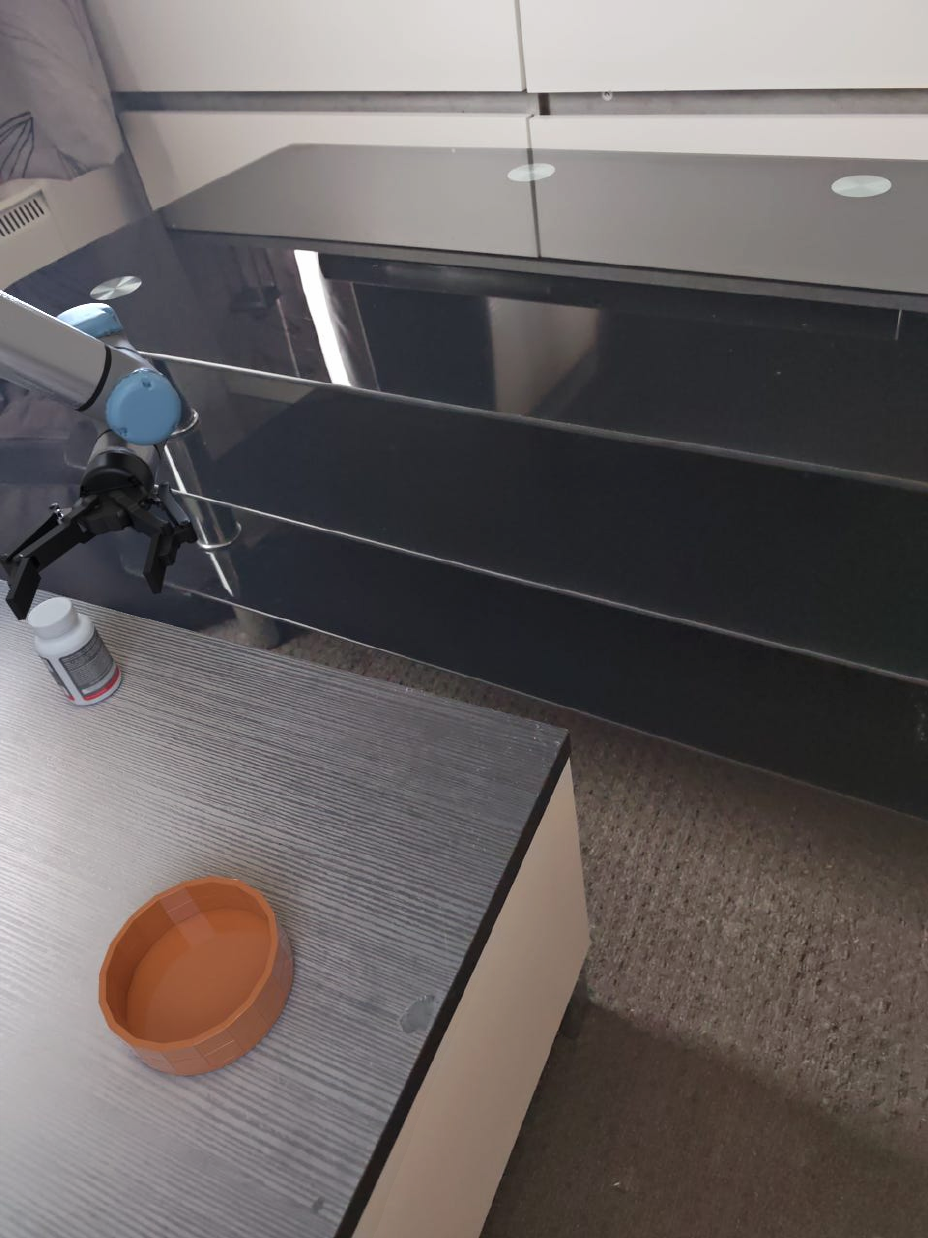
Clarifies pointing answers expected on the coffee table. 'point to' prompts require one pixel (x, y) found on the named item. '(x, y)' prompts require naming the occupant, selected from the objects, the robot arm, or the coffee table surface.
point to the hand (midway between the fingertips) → (83, 596)
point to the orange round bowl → (197, 976)
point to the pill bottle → (73, 652)
